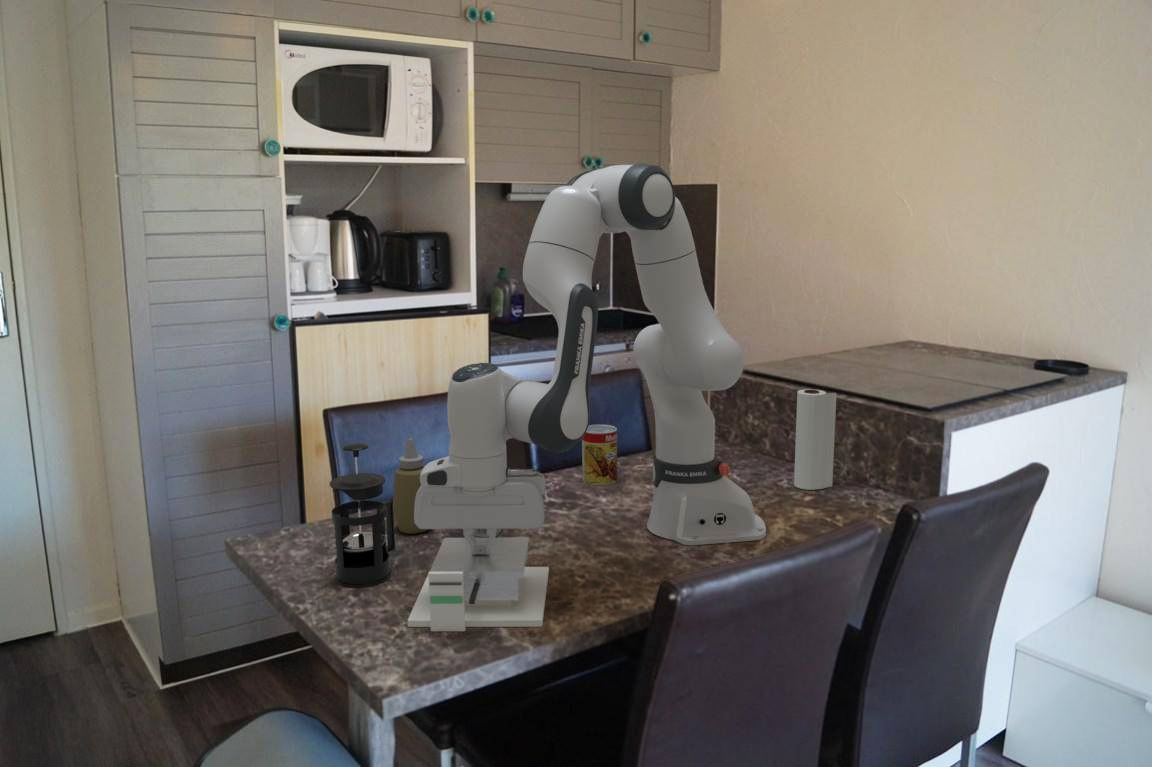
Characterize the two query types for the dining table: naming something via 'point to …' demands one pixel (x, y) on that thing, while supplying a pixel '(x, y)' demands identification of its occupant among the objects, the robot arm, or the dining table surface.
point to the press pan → (486, 567)
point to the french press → (361, 545)
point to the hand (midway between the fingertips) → (481, 553)
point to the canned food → (599, 455)
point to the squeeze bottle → (407, 488)
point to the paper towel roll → (814, 439)
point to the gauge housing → (478, 604)
